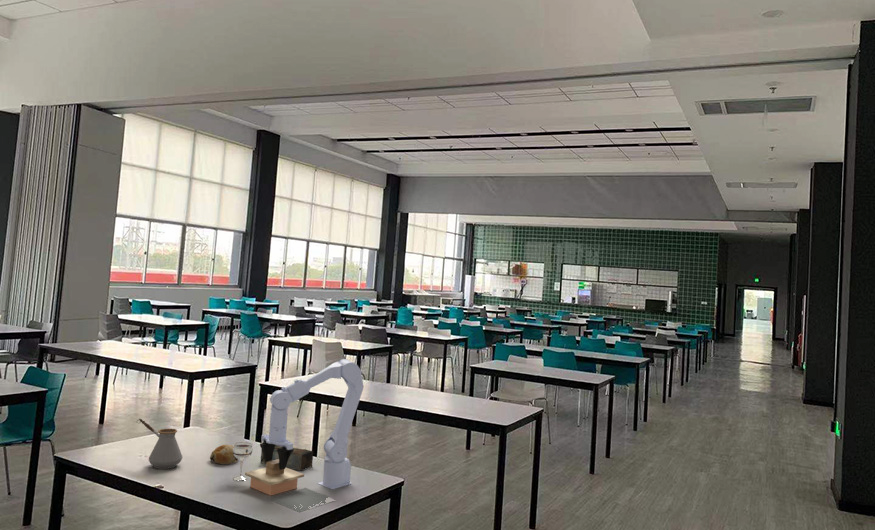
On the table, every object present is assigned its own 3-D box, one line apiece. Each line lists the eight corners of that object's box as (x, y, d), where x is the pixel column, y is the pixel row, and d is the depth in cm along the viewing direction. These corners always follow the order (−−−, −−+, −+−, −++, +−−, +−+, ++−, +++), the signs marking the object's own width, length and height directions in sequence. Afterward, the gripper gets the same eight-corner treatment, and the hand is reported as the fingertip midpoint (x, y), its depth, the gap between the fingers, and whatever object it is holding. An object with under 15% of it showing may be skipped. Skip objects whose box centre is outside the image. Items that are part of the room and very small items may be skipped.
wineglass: (254, 477, 227) (256, 443, 227) (243, 482, 220) (246, 448, 221) (237, 474, 229) (240, 441, 229) (226, 479, 222) (229, 445, 222)
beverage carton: (272, 458, 252) (273, 441, 252) (313, 466, 245) (314, 449, 245) (259, 463, 245) (260, 446, 245) (301, 472, 238) (303, 454, 238)
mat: (305, 489, 218) (305, 487, 218) (337, 501, 209) (337, 500, 209) (267, 500, 206) (267, 498, 206) (299, 513, 196) (299, 512, 196)
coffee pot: (188, 465, 236) (191, 424, 236) (163, 472, 225) (166, 430, 226) (148, 454, 245) (151, 415, 245) (122, 461, 235) (125, 420, 235)
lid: (278, 467, 226) (279, 453, 226) (304, 476, 218) (305, 462, 218) (244, 474, 215) (245, 460, 215) (270, 485, 207) (271, 470, 207)
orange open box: (276, 481, 224) (277, 468, 224) (296, 489, 217) (297, 476, 217) (250, 488, 215) (251, 475, 215) (270, 497, 209) (271, 483, 209)
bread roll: (227, 475, 239) (237, 456, 239) (203, 461, 239) (214, 442, 239) (236, 467, 248) (246, 449, 249) (213, 454, 249) (223, 436, 249)
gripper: (255, 423, 218) (252, 463, 218) (282, 432, 209) (279, 473, 209) (272, 421, 224) (269, 459, 223) (299, 429, 215) (296, 469, 214)
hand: (275, 466), depth 216 cm, fingers open, 7 cm apart
